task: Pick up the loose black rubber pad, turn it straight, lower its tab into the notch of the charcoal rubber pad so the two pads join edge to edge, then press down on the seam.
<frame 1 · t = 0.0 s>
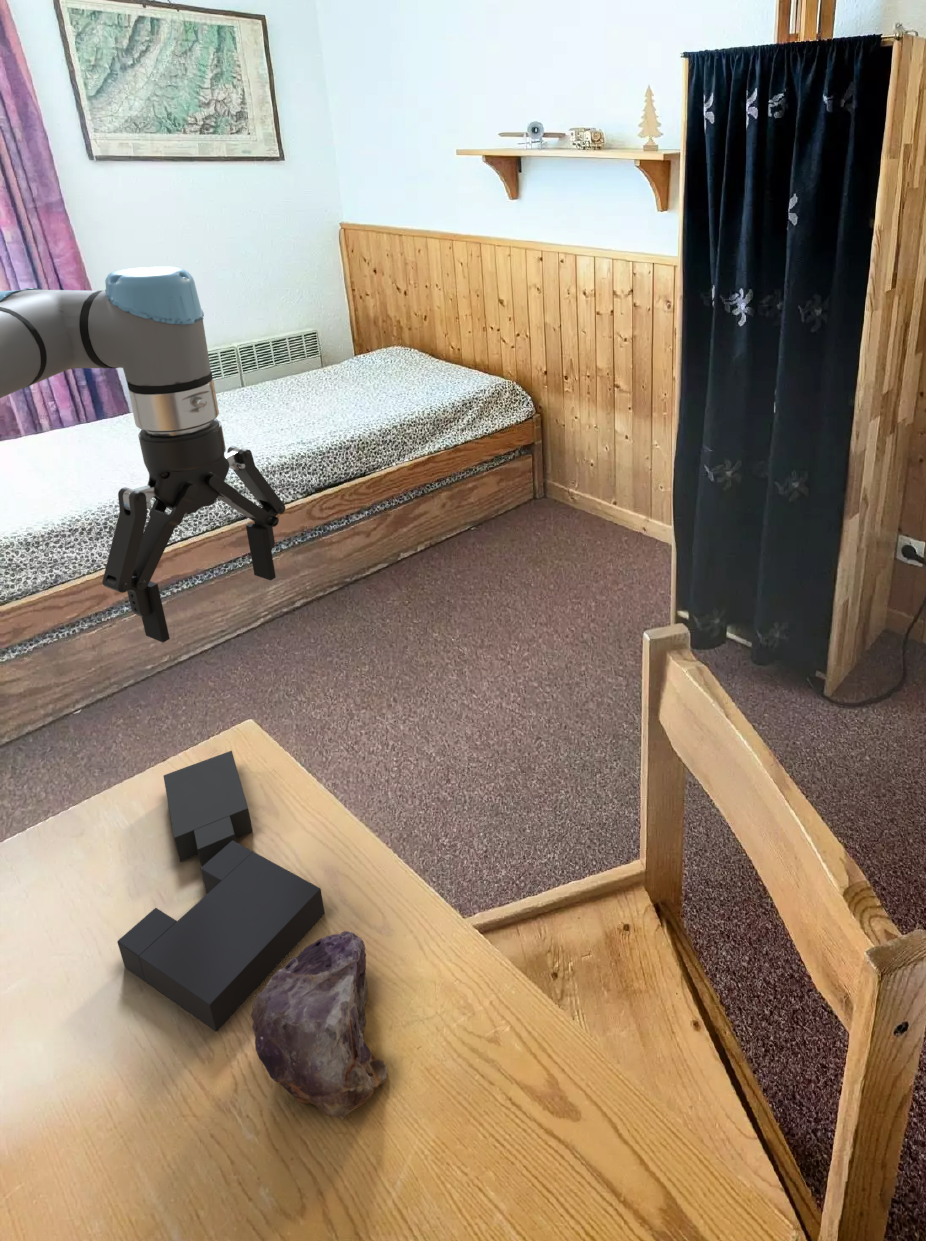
hand: (215, 605, 87), 22 cm above the table, tool pointing down, fingers open, 13 cm apart
dock pad: (229, 945, 73), on the table
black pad: (211, 819, 87), on the table
rock: (325, 1058, 65), on the table
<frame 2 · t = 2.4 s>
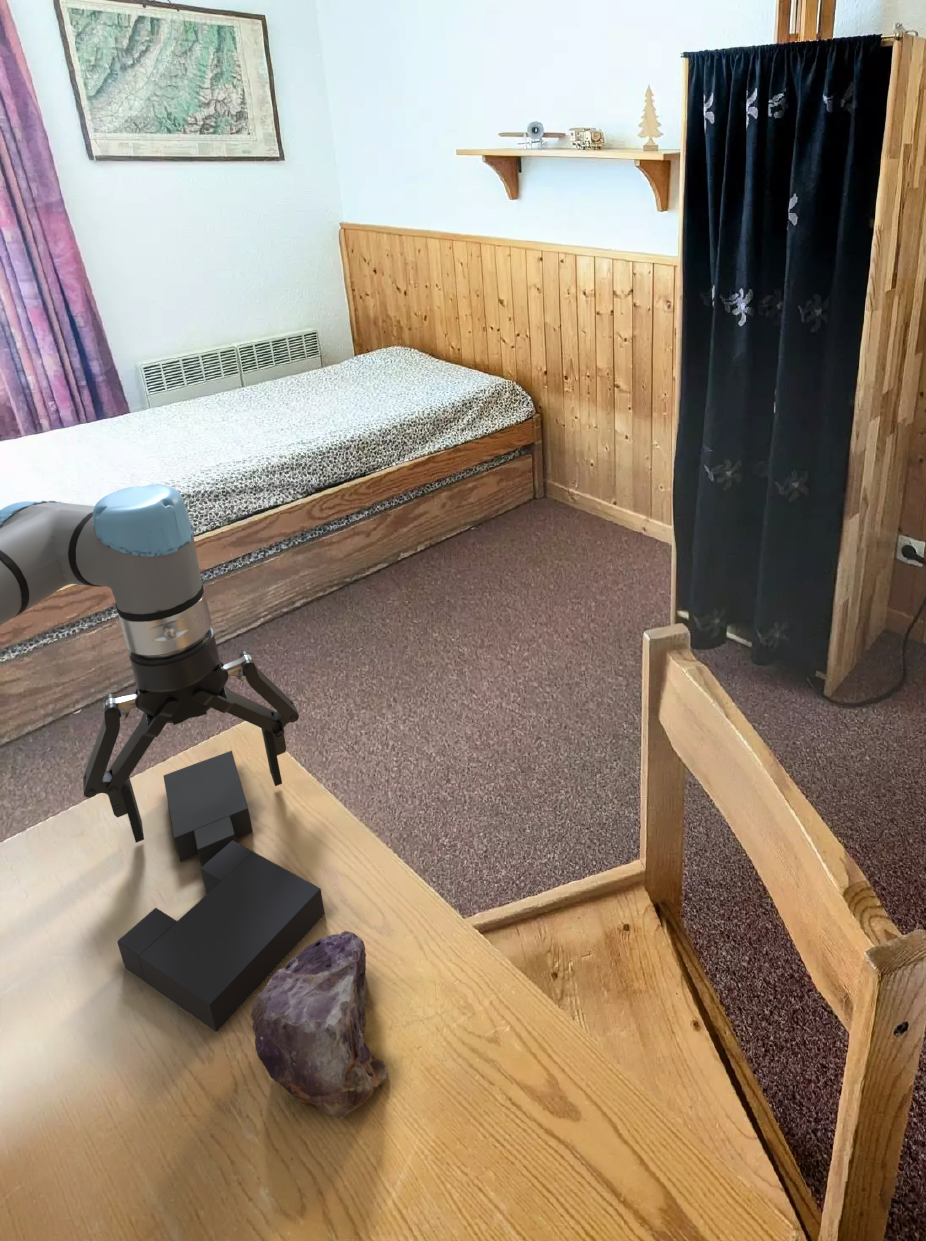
hand: (210, 804, 86), 2 cm above the table, tool pointing down, fingers open, 13 cm apart
nothing on the table moved.
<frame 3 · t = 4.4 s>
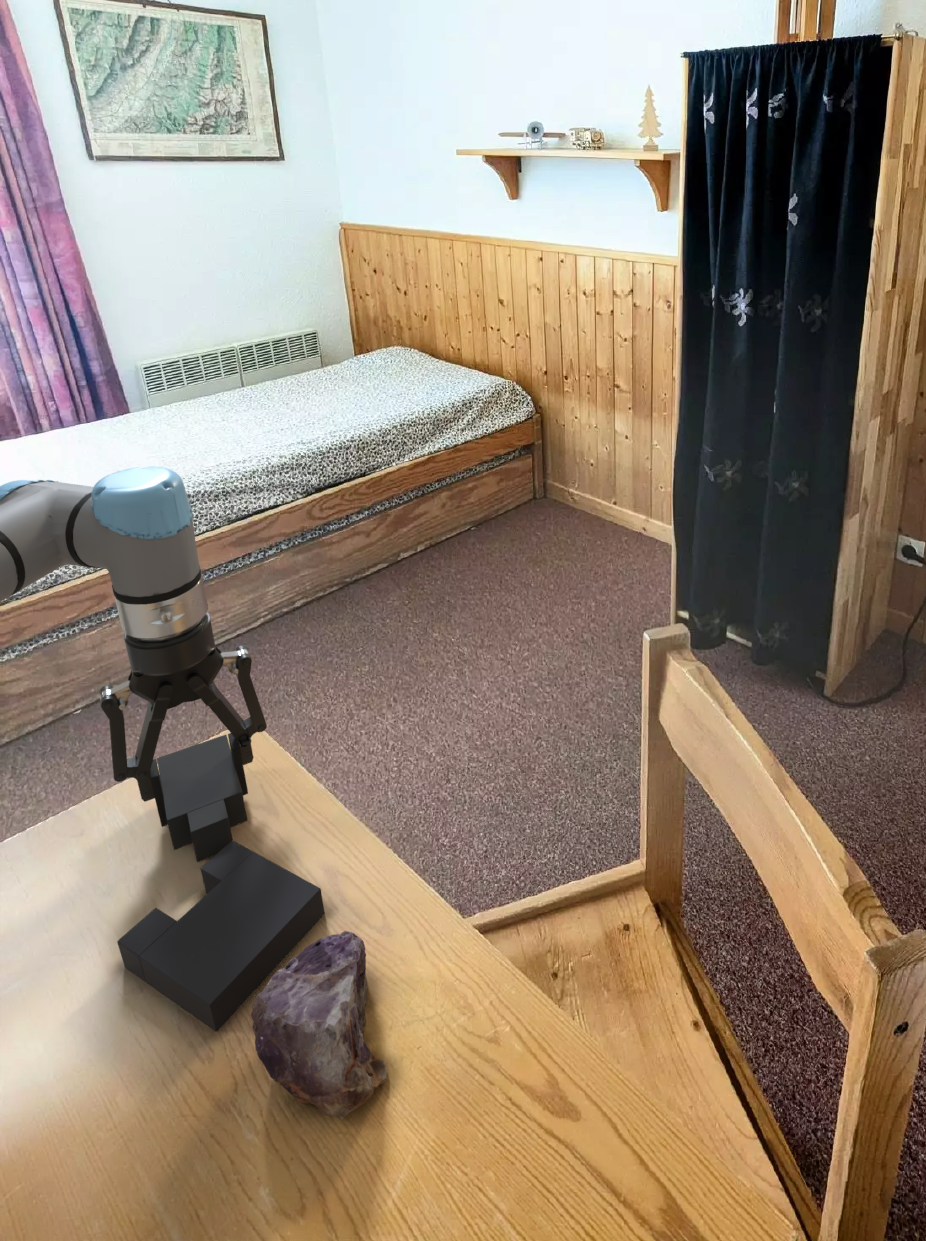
hand: (204, 801, 86), 3 cm above the table, tool pointing down, fingers closed on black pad, 7 cm apart
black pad: (204, 803, 86), point 2 cm above the table, touching gripper
everything else where it was.
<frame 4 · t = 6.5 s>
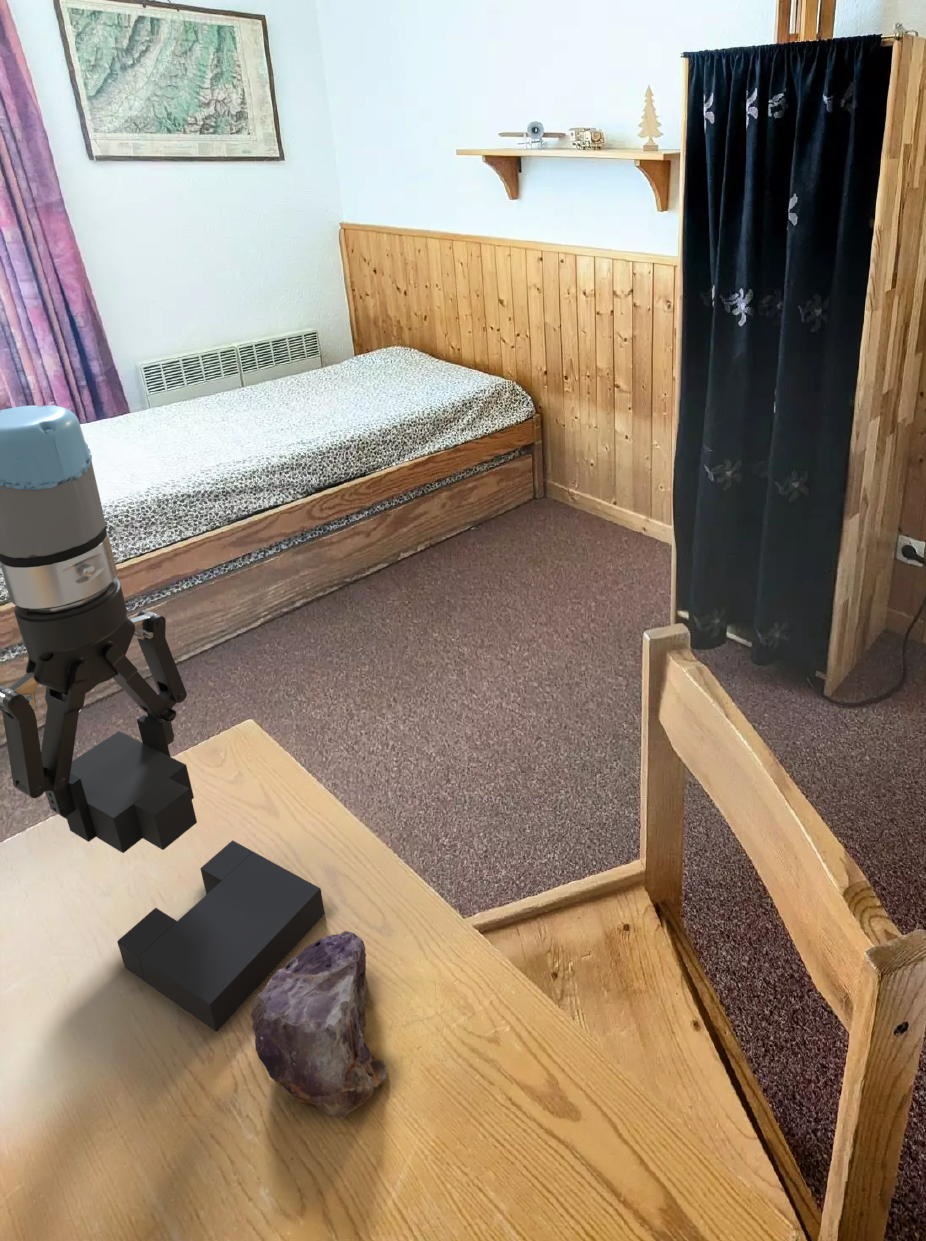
hand: (124, 802, 74), 12 cm above the table, tool pointing down, fingers closed on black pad, 7 cm apart
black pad: (125, 805, 74), point 11 cm above the table, touching gripper
everything else where it was.
when the fingers open (0 cm above the table, at t = 8.9 s): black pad stays where it is, on the table.
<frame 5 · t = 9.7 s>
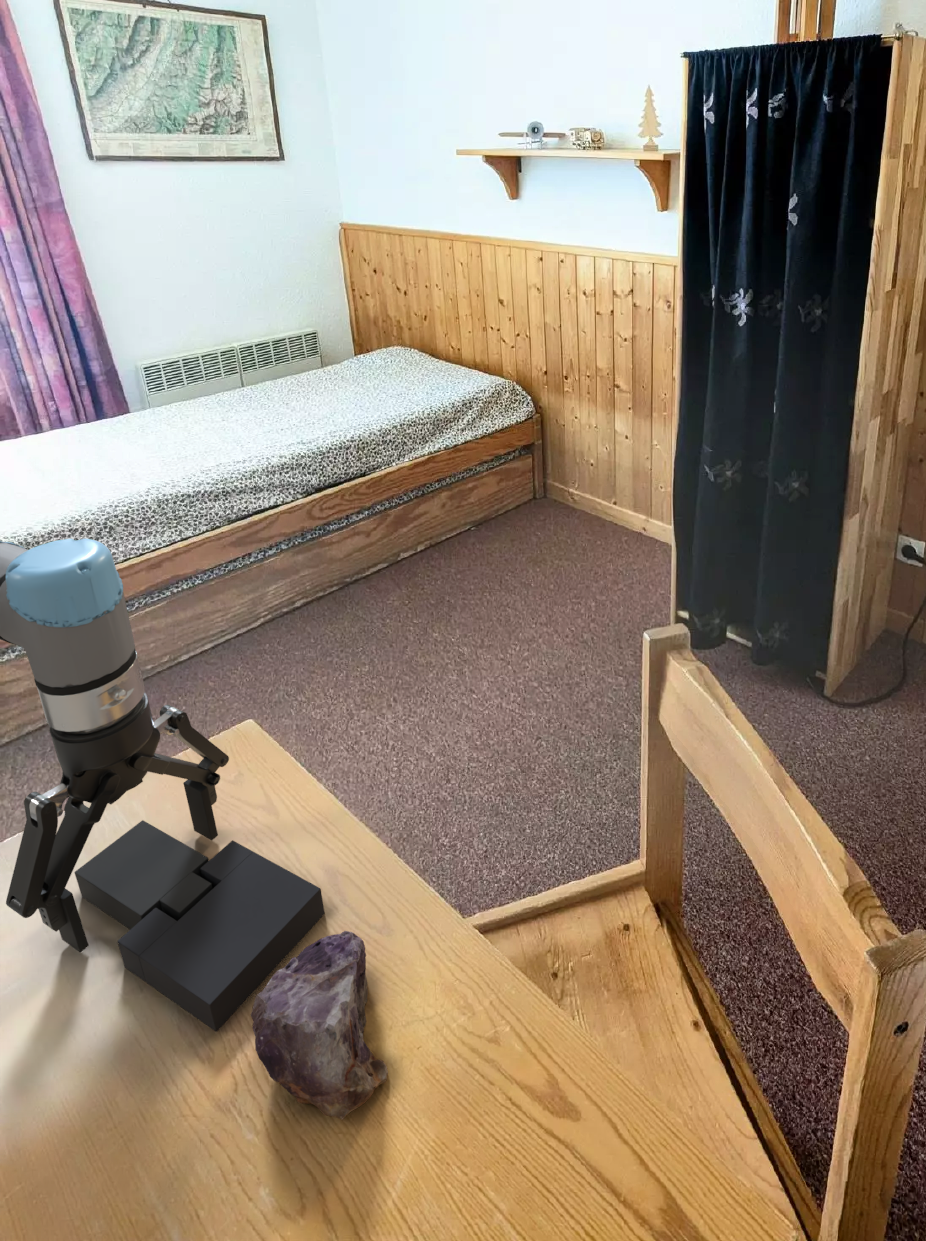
hand: (145, 884, 78), 1 cm above the table, tool pointing down, fingers open, 13 cm apart
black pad: (149, 895, 78), on the table
everything else where it was.
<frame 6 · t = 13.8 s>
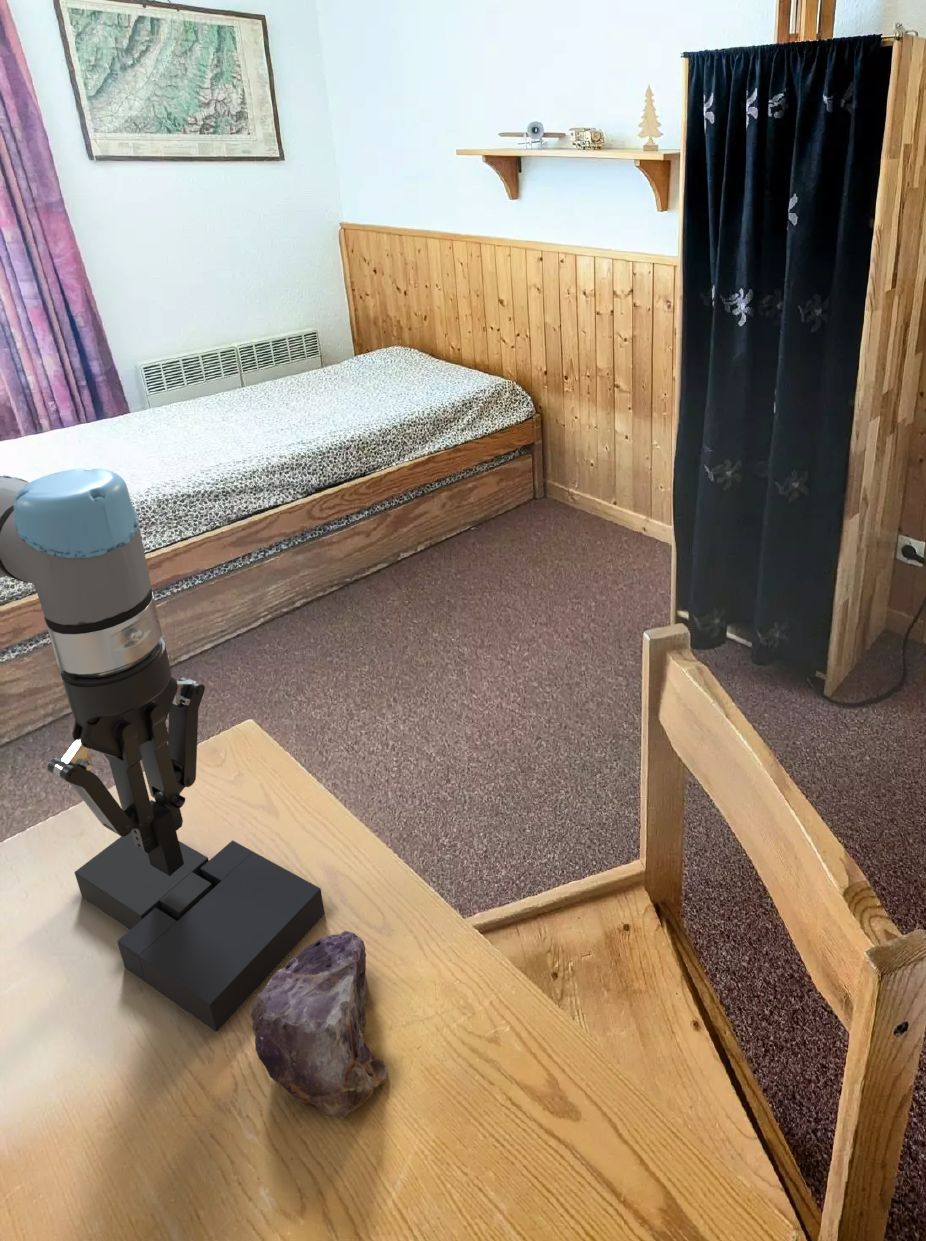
hand: (167, 864, 74), 6 cm above the table, tool pointing down, fingers closed
nothing on the table moved.
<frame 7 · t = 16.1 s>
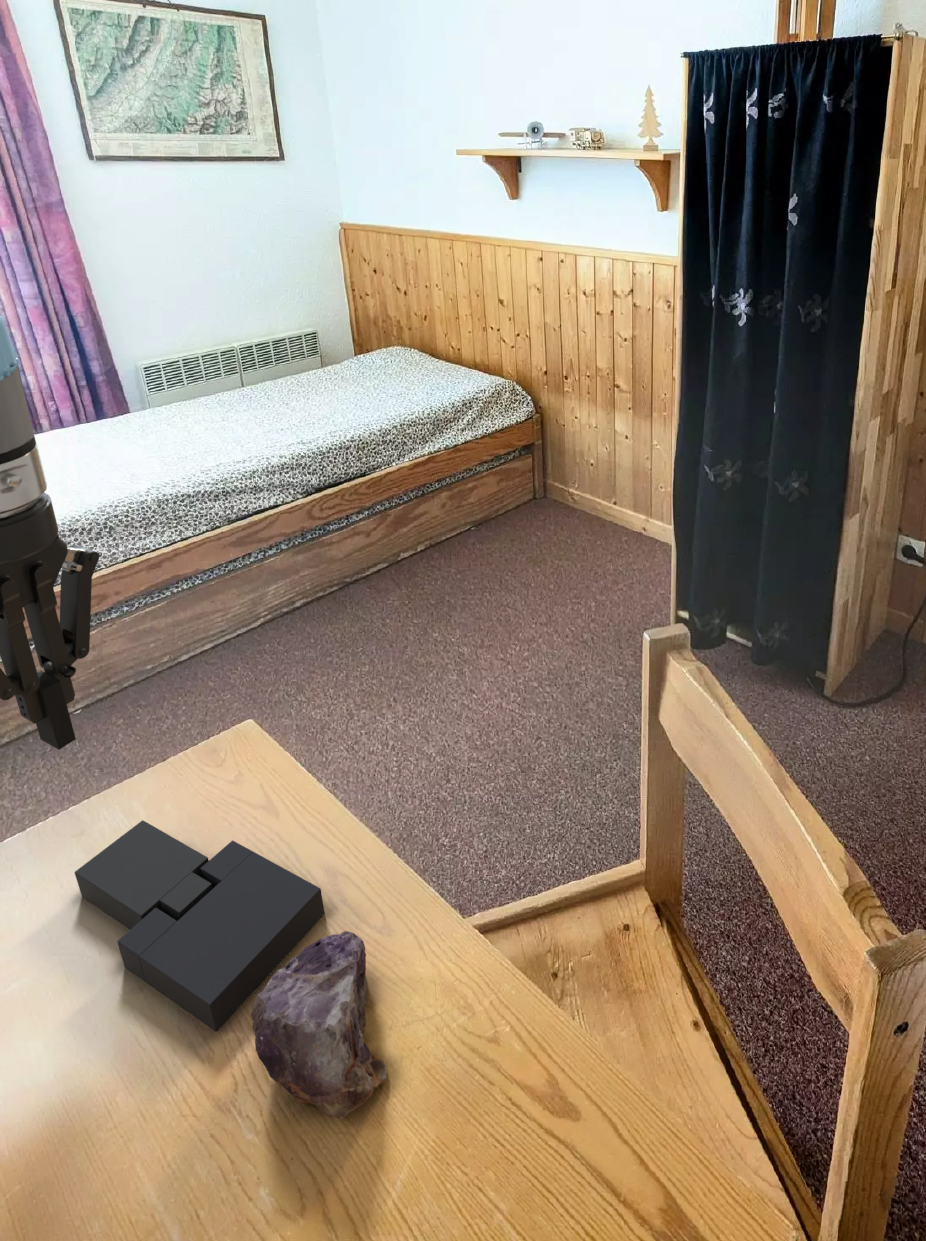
hand: (58, 739, 71), 19 cm above the table, tool pointing down, fingers closed
nothing on the table moved.
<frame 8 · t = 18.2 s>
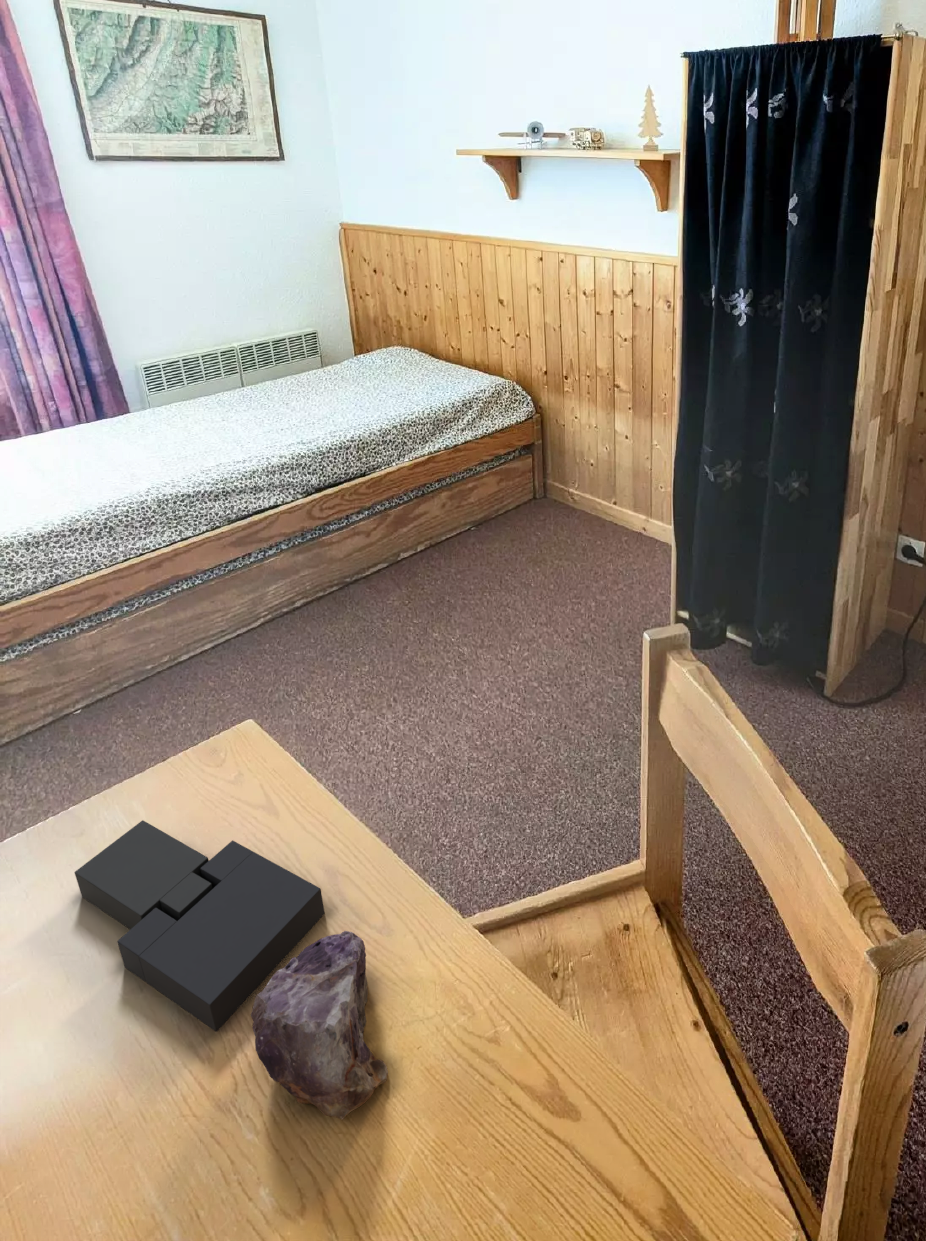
nothing on the table moved.
at the end: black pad 0.7 cm from the target spot on the table beside the dock pad, on the table; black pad tilted 0°; the gripper is holding nothing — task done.
